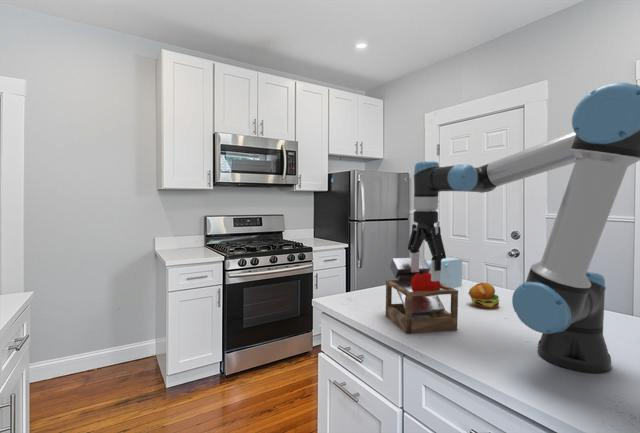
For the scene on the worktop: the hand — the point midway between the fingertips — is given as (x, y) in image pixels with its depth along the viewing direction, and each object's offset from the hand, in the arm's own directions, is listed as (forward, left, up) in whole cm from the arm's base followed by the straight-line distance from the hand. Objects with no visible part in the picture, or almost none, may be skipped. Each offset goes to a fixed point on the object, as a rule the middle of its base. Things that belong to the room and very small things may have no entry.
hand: (424, 276), depth 110 cm
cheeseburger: (+15, -34, -16) cm, 40 cm away
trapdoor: (+7, 0, -6) cm, 9 cm away
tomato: (-1, 0, -7) cm, 7 cm away
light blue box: (+43, -32, -16) cm, 56 cm away
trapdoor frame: (+3, 0, -16) cm, 16 cm away
